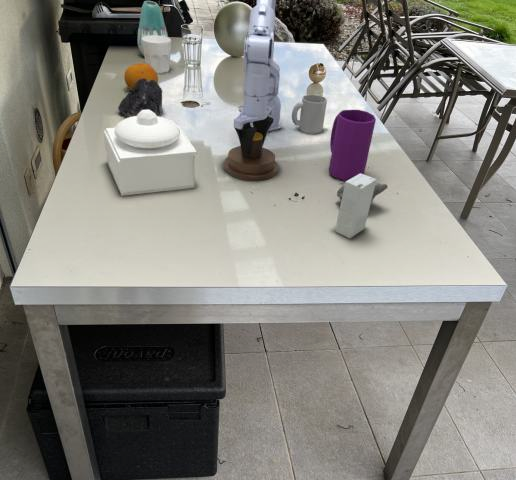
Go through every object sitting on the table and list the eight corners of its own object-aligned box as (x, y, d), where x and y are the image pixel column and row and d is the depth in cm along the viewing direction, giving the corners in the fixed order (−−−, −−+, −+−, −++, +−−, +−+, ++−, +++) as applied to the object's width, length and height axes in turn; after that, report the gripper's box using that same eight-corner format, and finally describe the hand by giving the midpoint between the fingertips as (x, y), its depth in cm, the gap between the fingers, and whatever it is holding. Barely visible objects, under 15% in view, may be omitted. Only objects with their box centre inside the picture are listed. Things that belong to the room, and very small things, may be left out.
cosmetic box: (348, 222, 121) (359, 171, 112) (365, 229, 119) (377, 178, 110) (333, 232, 117) (343, 180, 109) (350, 240, 115) (362, 187, 107)
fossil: (371, 196, 131) (379, 164, 126) (387, 214, 125) (396, 182, 119) (329, 198, 128) (335, 166, 123) (343, 217, 122) (350, 185, 117)
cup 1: (170, 75, 188) (168, 44, 181) (141, 73, 188) (139, 41, 181) (173, 67, 195) (172, 36, 189) (146, 64, 195) (144, 34, 188)
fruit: (134, 83, 179) (131, 57, 174) (163, 88, 177) (162, 62, 172) (119, 92, 171) (117, 65, 166) (150, 98, 170) (148, 71, 164)
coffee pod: (249, 149, 138) (250, 129, 134) (265, 154, 136) (266, 135, 132) (237, 155, 134) (238, 135, 131) (254, 160, 132) (255, 141, 129)
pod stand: (255, 153, 145) (256, 140, 142) (288, 173, 137) (290, 159, 135) (213, 163, 138) (213, 150, 135) (245, 185, 130) (246, 171, 128)
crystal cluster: (122, 125, 154) (121, 90, 147) (114, 104, 162) (114, 70, 155) (167, 126, 158) (169, 92, 151) (158, 106, 167) (159, 73, 160)
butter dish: (107, 163, 133) (99, 97, 123) (177, 157, 139) (175, 93, 128) (121, 196, 122) (113, 126, 111) (197, 187, 128) (196, 120, 117)
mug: (337, 183, 135) (347, 123, 125) (314, 157, 145) (322, 100, 135) (369, 180, 137) (382, 121, 127) (344, 155, 148) (355, 99, 138)
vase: (175, 58, 204) (173, 3, 192) (151, 62, 197) (148, 6, 185) (156, 50, 209) (153, -3, 197) (132, 55, 203) (127, -1, 190)
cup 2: (325, 134, 158) (330, 103, 152) (293, 134, 156) (297, 103, 150) (318, 124, 163) (322, 94, 157) (287, 125, 161) (290, 94, 155)
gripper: (259, 82, 131) (255, 137, 140) (223, 95, 122) (222, 153, 131) (283, 89, 128) (277, 144, 138) (249, 103, 119) (245, 162, 128)
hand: (252, 149), depth 134 cm, fingers closed on coffee pod, 5 cm apart
